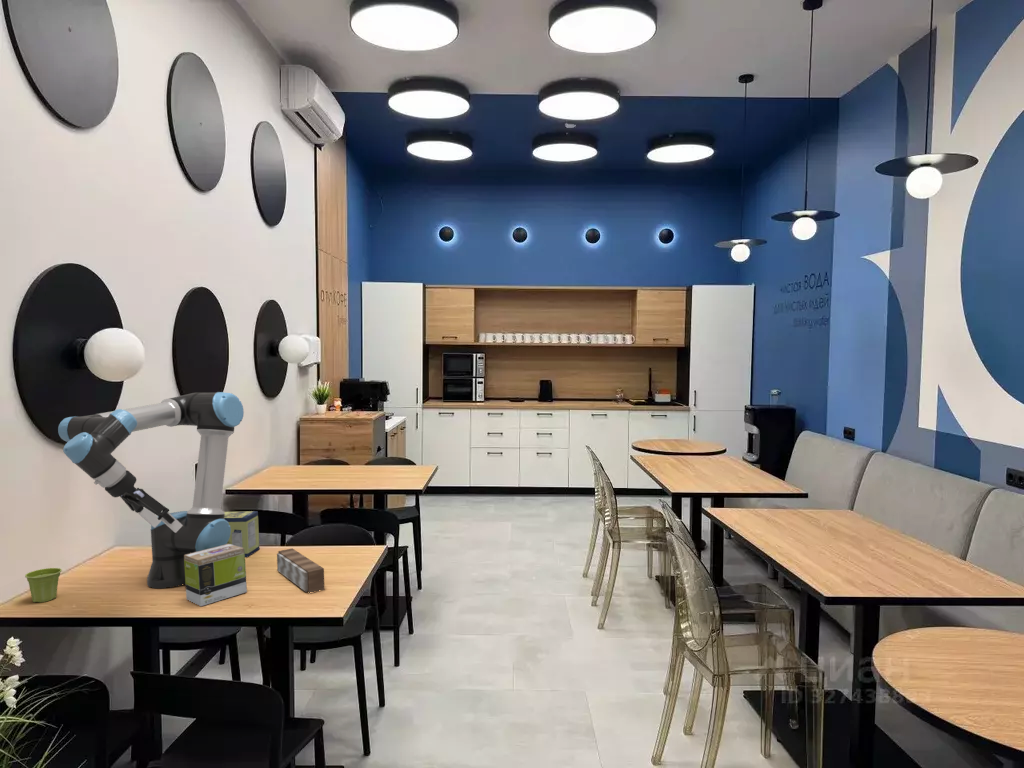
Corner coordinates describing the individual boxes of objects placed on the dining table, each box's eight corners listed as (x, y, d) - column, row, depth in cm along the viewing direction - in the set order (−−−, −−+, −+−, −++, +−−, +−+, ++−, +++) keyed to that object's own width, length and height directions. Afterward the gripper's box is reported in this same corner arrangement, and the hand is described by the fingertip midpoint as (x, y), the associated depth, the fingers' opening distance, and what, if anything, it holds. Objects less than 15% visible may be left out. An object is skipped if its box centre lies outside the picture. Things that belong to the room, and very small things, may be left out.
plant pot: (60, 591, 208) (59, 565, 208) (65, 599, 201) (64, 572, 201) (24, 599, 202) (23, 572, 202) (28, 607, 195) (27, 579, 195)
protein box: (221, 550, 253) (220, 511, 253) (260, 549, 253) (258, 510, 252) (208, 558, 243) (206, 517, 242) (248, 557, 242) (247, 517, 242)
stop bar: (276, 571, 225) (275, 551, 225) (292, 567, 229) (292, 548, 229) (306, 594, 202) (306, 572, 201) (324, 589, 205) (323, 568, 205)
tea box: (232, 586, 210) (230, 542, 210) (247, 593, 204) (245, 547, 203) (185, 600, 198) (183, 553, 198) (199, 607, 192) (198, 559, 192)
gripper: (87, 486, 185) (140, 531, 196) (123, 492, 170) (178, 541, 181) (108, 466, 189) (159, 512, 200) (145, 471, 174) (197, 520, 185)
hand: (168, 526), depth 190 cm, fingers open, 13 cm apart
